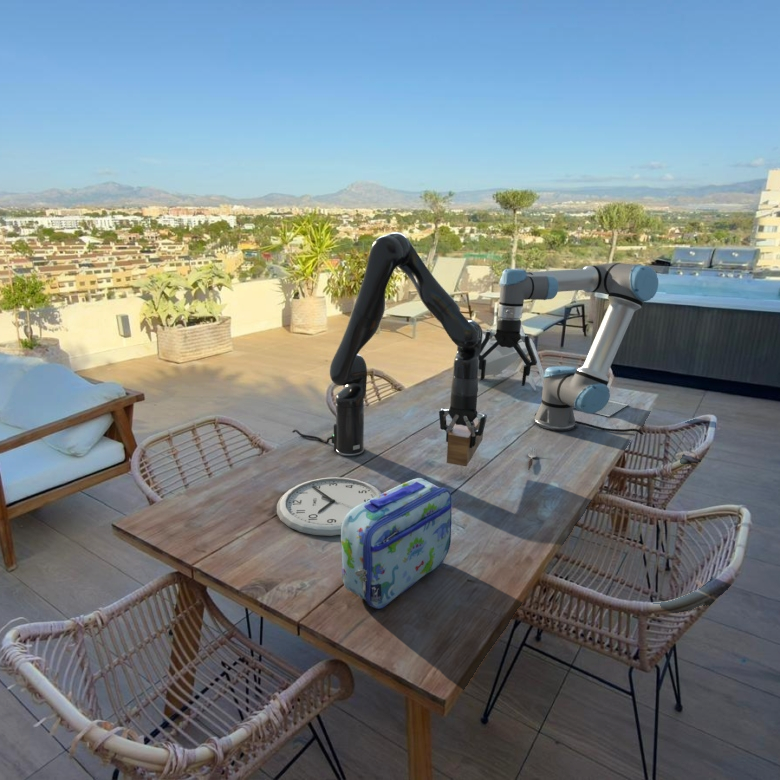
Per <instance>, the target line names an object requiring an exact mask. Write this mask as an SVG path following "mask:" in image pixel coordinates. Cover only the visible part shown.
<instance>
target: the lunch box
mask: <svg viewBox="0 0 780 780" xmlns="http://www.w3.org/2000/svg"><path fill="white" fill-rule="evenodd" d="M451 539H452V494H451V491H450V490H449V488H446V487H439V486H437V485H435V484H434V483H432V482H430V481H428V480H426V479H424V478H421V477H416V478H413V479H410V480H408V481H405V482H403V483H402V484H398V485H397V486H395V487H392V488H390V489H389V490H386V491H384V492H382V494H380V495H378V496H376V497H374V498H372V499H370V500H368V501H366V502H364V503H362V504H360V505H358V506H356V507H354V508H353V509H351V510H350V511H349V512H348V514H347V515H346V517H345V518H344V520H343V523H342V528H341V535H340V546H341V569H342V570H341V571H342V582H343V585H344V588H345V589H346V590H347V591H349V592H351V593H353V594H355V595H356V596H358V597H359V598H361V599H362V600H364V601H365V602H366V603H367V605H368V606H370V607H372V608H374V609H378V610H379V609H380V610H381V609H383V608H384V607H387V605H389V604H390V603H391V602H392V601H393V600H395V599H396V598H397V597H399V596H400V595H402V594H403V593H404V592H405V591H407V590H408V589H409V588H411V587H412V586H413V585H415V584H416V583H418V581H419V580H420V579H421V578H423V577H425V576H427V575H428V574H429V573H431V572H432V571H434V570H435V569H437V568H438V567H439V566H441V564H442V563H443V562H444V561H445V559H446V557H447V556H448V554H449V550H450V547H451V541H452V540H451Z"/></svg>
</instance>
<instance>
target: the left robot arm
mask: <svg viewBox="0 0 780 780" xmlns="http://www.w3.org/2000/svg"><path fill="white" fill-rule="evenodd" d="M397 268H398V269H399V270H401V271H402V272H403V273H404V274H405V275H406V276H407V278H409V280H410V281H411V283H412V284H413V286H414V288H415V290H416V292H417V295H418V296H419V299H420V300H421V302H422V304H423V305H424V307H425V308H426V309H427V310H428V311H429V313H430V314H431V315H432V316H433V317H434V318H435V319H436V320H437V321H438V322H439V323H440V325H441V326H442V328H443V329H444V331H445V333H446V334H447V336H448V337H449V338H450V340H451V341H452V342H453V344H455V345H456V346H457V348H456V355H455V356H454V360H453V365H452V366H453V368H452V377H451V385H450V386H451V387H450V401H449V402H450V403H449V408H448V409H446V408H444V407H441V408H440V410H439V411H438V415H439V428H440V430H442V431H444V432H445V433H446V434H445V436H446V437H445V442H446V443H448V434H449V433H450V432H451V430H452V429H453V428H454V426H455V425H463V426H467V427H468V430H469V431H470V433H471V437H470V448H473V447H474V446H475V444H476V436H478V435H479V436H481V435H482V433H483V434H484V430H485V426H486V422H487V418H488V415H487V414H486V413H483V414H484V415H481V414H478V413H479V412H478V411H477V410H478V409H477V404H478V392H479V376H478V361H479V354H480V349H481V343H482V334H483V328H482V327H481V325H480V324H479V323H478V322H477V321H476V320H471V319H470V320H468V319H467V318H466V317H465V315H464V314H463V313H462V312H461V307H460V305H459V304H458V303H457V301H455V299H454V298H453V297H452V296H451V295H450V294H449V293H448V292H447V291H446V289H445V288H444V287H443V286H442V285H441V284H440V283H439V281H438V280H437V279H436V277H434V275H433V273H432V272H431V270H429V268H428V267H427V266H426V264H425V262H424V261H423V259H422V258H421V256H420V255H419V254H418V252H417V250H416V249H415V247H414V246H413V244H412V243H411V241H410V240H409V239H408V238H407V237H406V236H405V235H404V234H403V233H401V232H390V233H387V234H384V235H382V236H379V237H378V238H376V239H375V240H374V241H373V243H372V245H371V247H370V250H369V255H368V260H367V263H366V268H365V272H364V276H363V279H362V282H361V284H360V288H359V290H358V293H357V296H356V299H355V301H354V304H353V307H352V310H351V312H350V316H349V319H348V322H347V326H346V328H345V331H344V333H343V336H342V338H341V341H340V343H339V345H338V347H337V350H336V351H335V354H334V355H333V358H332V360H331V362H330V366H329V376H330V380H331V381H332V383H333V384H334V385H336V386H341V387H343V388H342V389H341V390H340V391H339V392H337V394H336V395H335V423H334V424H333V434H332V435H331V436H329V437H327V439H326V440H324V439H322V438H321V437H319V436H315V435H309V434H303V433H301V432H300V431H299V430H298V429H293V430H292V431H291V433H296V434H298V435H299V436H300V437H303V438H309V439H315V440H318V441H320V442H321V443H323V444H328V443H330V441H331V444H333V451H334V452H336V454H338V455H339V456H343V457H357V456H360V455H362V454H363V453H364V452H365V443H364V442H365V441H364V439H365V425H364V424H365V417H364V416H365V397H366V395H367V382H368V366H367V362H366V360H365V359H364V357H363V356H362V355H360V354H359V353H360V352H361V350H362V349H363V348H364V347H365V346H366V344H368V342H369V341H371V339H372V338H373V337H374V336H375V334H376V333H377V331H378V330H379V328H380V325H381V322H382V320H383V317H384V314H385V311H386V290H387V287H388V284H389V282H390V281H391V280H390V279H391V277H392V275H393V273H394V271H395V270H396V269H397ZM448 415H449V416H450V418H451V421H450V423H449V424H447V416H448ZM476 417H477V418H478V421H479V422H480V425H479V429H478V430H476V428H475V424H474V421H473V420H474V419H475V418H476Z"/></svg>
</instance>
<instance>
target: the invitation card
mask: <svg viewBox="0 0 780 780" xmlns="http://www.w3.org/2000/svg"><path fill="white" fill-rule="evenodd" d="M628 406H629V404H627V403H623V402H618V401H614V400H610V399H609V401H608V403H607V404H606V405H605V407H604V408H603V409H601V410H600V411H597V412H596V413H595V414H596V415H600V416H604V417H608V418H609V417H611V416H613V415H614V414H616V413H617V412H619V411H621V410H623V409H624V408H626V407H628Z"/></svg>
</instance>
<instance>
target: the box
mask: <svg viewBox="0 0 780 780" xmlns="http://www.w3.org/2000/svg"><path fill="white" fill-rule="evenodd" d="M477 413H478V414H481V415H484V414H485V413H482V412H477ZM473 421H474V424H475V428H476V430H478V429H479V425H480V422H479V421H478V418H477V417H476V418H475V419H474V420H473ZM470 437H471V433H470V431H469V430H468V427H467V426H463V425H456V424H455V425H454V427H453V428H452V430H451V432H450V433H449V434H448V442H447V449H446V464H450V465H454V466H455V465H456V466H460V467H461V466H462V467H468V465H469V463H470V461H471V460H472V458H473V456H474V455H475V453H476V451H477V450H478V448H479V446H481V445H480V444H482V442H483V439H484V432H483V433H482V435H481V436H479V435H478V436H476V444H475V446H474V447H473V448H470Z"/></svg>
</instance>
